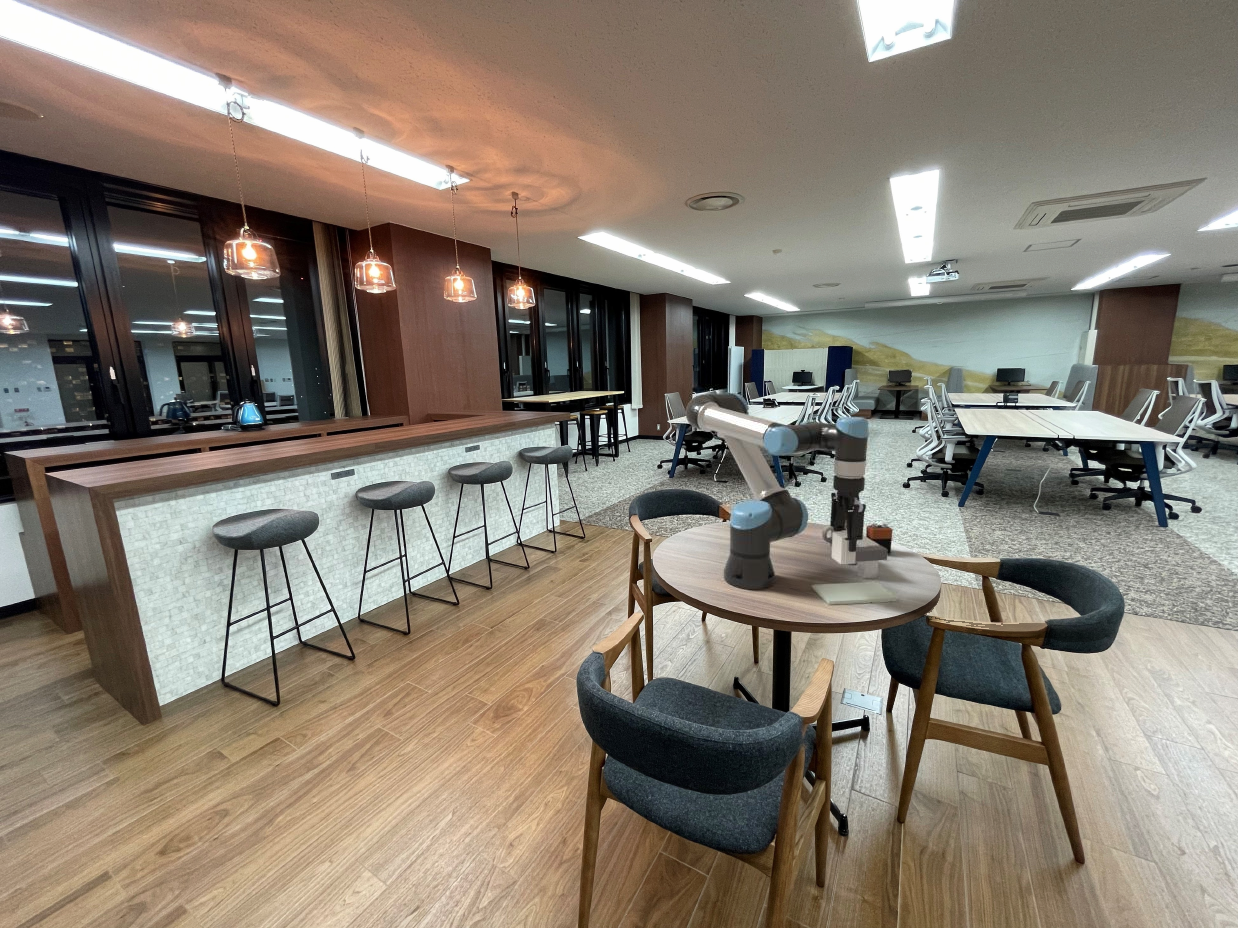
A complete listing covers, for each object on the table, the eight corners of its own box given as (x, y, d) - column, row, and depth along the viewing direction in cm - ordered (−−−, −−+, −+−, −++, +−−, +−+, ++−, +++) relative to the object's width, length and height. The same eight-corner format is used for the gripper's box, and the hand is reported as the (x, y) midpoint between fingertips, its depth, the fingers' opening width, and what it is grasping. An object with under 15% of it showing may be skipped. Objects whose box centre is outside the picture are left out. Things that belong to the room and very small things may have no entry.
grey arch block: (863, 578, 142) (866, 545, 140) (838, 559, 156) (840, 529, 154) (876, 577, 142) (879, 544, 140) (850, 558, 157) (852, 528, 155)
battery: (864, 550, 164) (866, 522, 162) (884, 549, 164) (886, 522, 162) (870, 554, 159) (873, 526, 158) (891, 554, 159) (893, 526, 157)
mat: (828, 604, 127) (829, 601, 127) (812, 587, 137) (812, 584, 136) (897, 601, 128) (897, 597, 127) (875, 584, 137) (876, 581, 137)
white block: (840, 564, 127) (841, 537, 126) (831, 557, 132) (832, 531, 131) (889, 561, 128) (891, 534, 126) (878, 554, 133) (879, 529, 131)
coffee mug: (855, 542, 171) (857, 516, 169) (865, 552, 161) (867, 525, 159) (816, 541, 173) (818, 515, 171) (824, 551, 163) (826, 524, 161)
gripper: (883, 482, 117) (876, 570, 121) (845, 468, 134) (840, 545, 139) (853, 483, 116) (847, 571, 121) (819, 469, 134) (815, 546, 138)
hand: (843, 557), depth 130 cm, fingers closed on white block, 5 cm apart
